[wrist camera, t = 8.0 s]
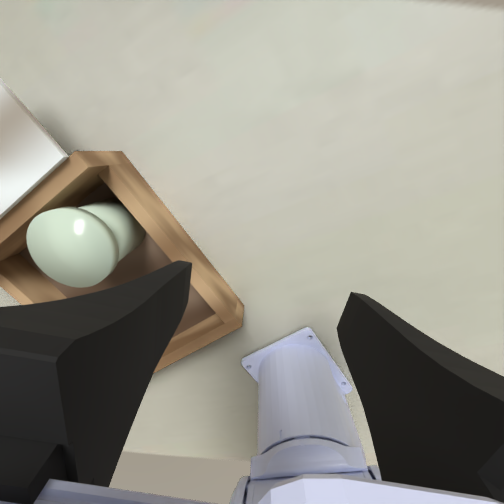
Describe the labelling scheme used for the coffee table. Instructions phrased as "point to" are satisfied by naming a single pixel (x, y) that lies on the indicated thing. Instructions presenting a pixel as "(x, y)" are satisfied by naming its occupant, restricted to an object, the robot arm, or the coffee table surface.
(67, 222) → the mint green knob
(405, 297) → the coffee table surface
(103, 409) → the robot arm
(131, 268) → the cold frame
